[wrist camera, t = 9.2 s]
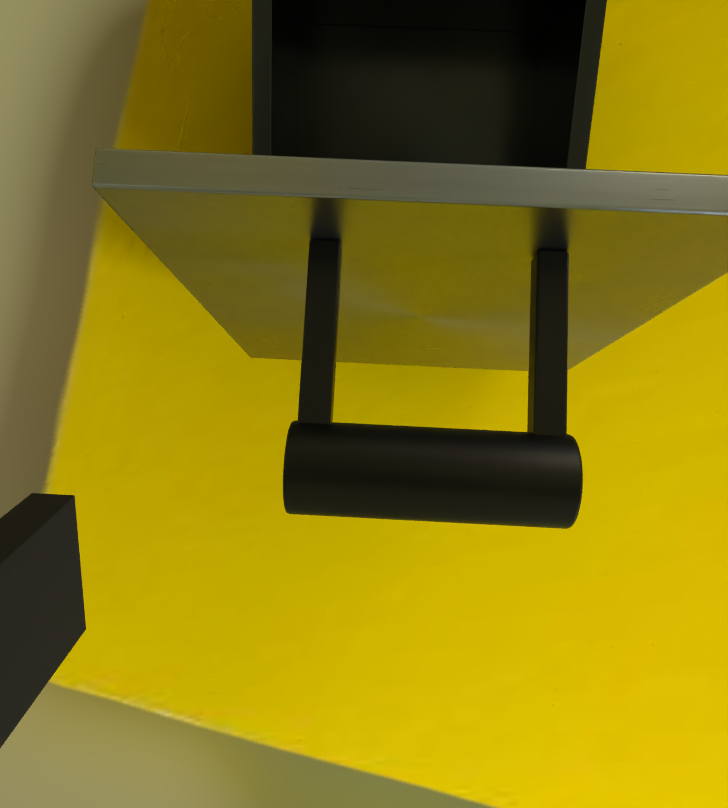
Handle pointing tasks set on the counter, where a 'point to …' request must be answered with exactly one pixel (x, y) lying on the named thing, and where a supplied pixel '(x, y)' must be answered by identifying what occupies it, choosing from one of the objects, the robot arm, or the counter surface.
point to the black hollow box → (426, 80)
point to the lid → (424, 301)
